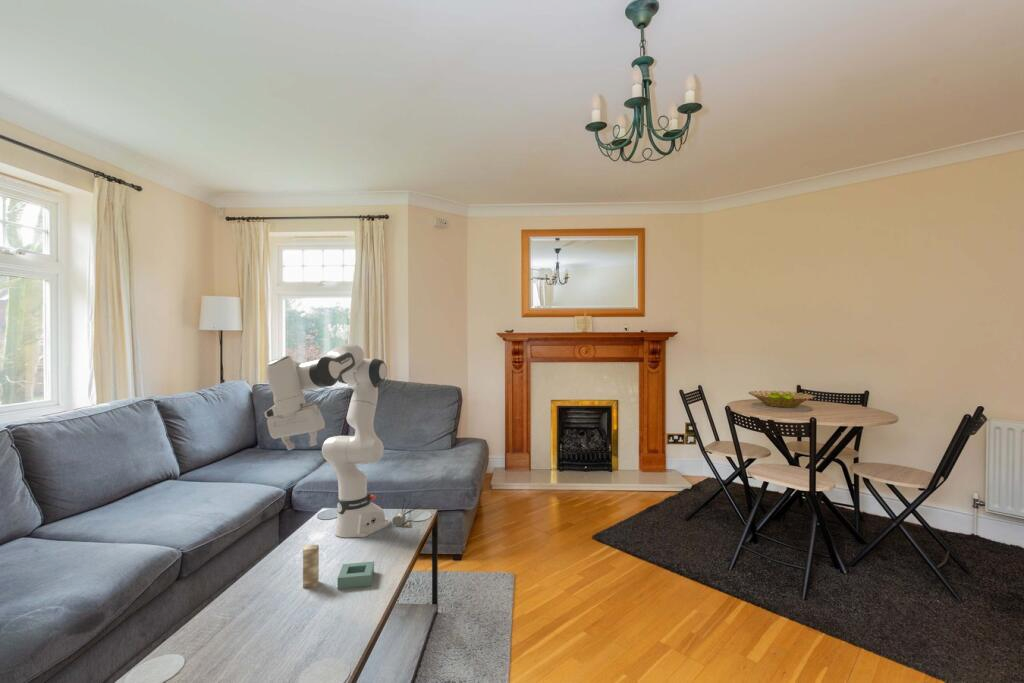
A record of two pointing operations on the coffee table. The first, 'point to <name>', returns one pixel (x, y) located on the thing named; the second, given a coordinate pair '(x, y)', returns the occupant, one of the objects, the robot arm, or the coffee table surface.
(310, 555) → the light wooden block
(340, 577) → the sage square frame
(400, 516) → the reed diffuser
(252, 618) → the coffee table surface
